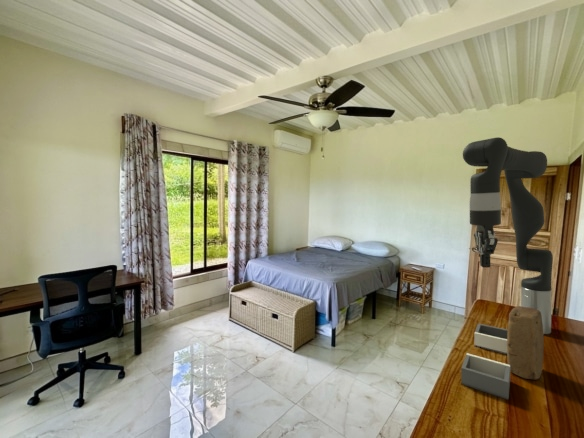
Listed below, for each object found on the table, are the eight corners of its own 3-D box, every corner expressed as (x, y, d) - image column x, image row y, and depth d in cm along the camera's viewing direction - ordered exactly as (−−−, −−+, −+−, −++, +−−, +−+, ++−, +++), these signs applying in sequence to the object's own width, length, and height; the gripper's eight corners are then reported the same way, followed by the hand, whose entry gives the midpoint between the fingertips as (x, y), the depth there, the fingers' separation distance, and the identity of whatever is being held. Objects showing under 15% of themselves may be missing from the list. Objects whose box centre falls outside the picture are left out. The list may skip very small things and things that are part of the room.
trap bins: (478, 335, 110) (478, 323, 109) (513, 343, 103) (513, 330, 102) (461, 384, 82) (461, 367, 81) (508, 400, 74) (508, 382, 74)
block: (535, 384, 80) (536, 317, 79) (504, 372, 86) (504, 310, 85) (546, 370, 86) (547, 308, 85) (516, 360, 92) (517, 301, 91)
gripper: (509, 209, 73) (509, 273, 74) (491, 207, 86) (492, 262, 87) (476, 210, 76) (477, 272, 77) (464, 208, 88) (464, 261, 89)
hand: (485, 266), depth 82 cm, fingers closed
